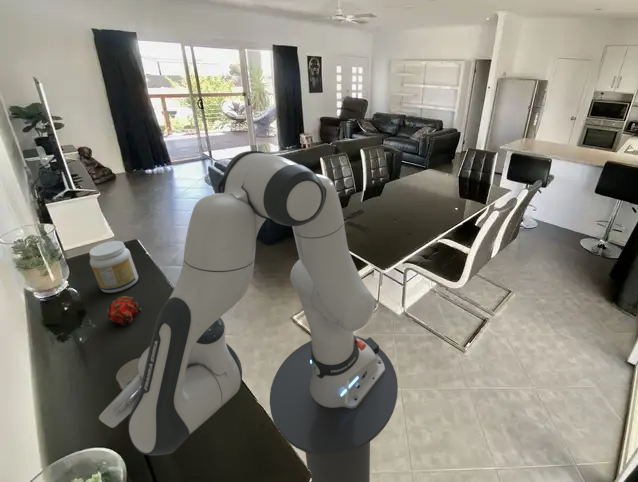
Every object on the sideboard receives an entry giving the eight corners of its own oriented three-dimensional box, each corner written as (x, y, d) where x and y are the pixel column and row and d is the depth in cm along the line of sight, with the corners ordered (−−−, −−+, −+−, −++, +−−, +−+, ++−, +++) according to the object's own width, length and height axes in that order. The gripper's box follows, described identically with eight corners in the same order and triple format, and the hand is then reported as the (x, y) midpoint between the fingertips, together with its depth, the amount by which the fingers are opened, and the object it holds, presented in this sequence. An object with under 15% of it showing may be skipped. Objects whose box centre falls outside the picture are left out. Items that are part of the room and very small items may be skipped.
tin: (159, 386, 76) (147, 352, 72) (165, 405, 72) (153, 370, 68) (128, 402, 73) (113, 368, 68) (133, 423, 69) (117, 388, 64)
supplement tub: (105, 279, 130) (91, 243, 123) (141, 272, 135) (129, 237, 128) (96, 298, 120) (80, 260, 113) (135, 289, 125) (122, 252, 118)
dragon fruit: (126, 311, 116) (135, 333, 109) (98, 310, 109) (105, 334, 102) (138, 291, 116) (147, 311, 109) (111, 289, 109) (118, 311, 102)
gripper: (136, 420, 56) (105, 444, 61) (210, 332, 75) (181, 356, 80) (106, 399, 55) (78, 425, 60) (188, 314, 74) (161, 340, 79)
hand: (137, 385), depth 70 cm, fingers closed on tin, 6 cm apart
